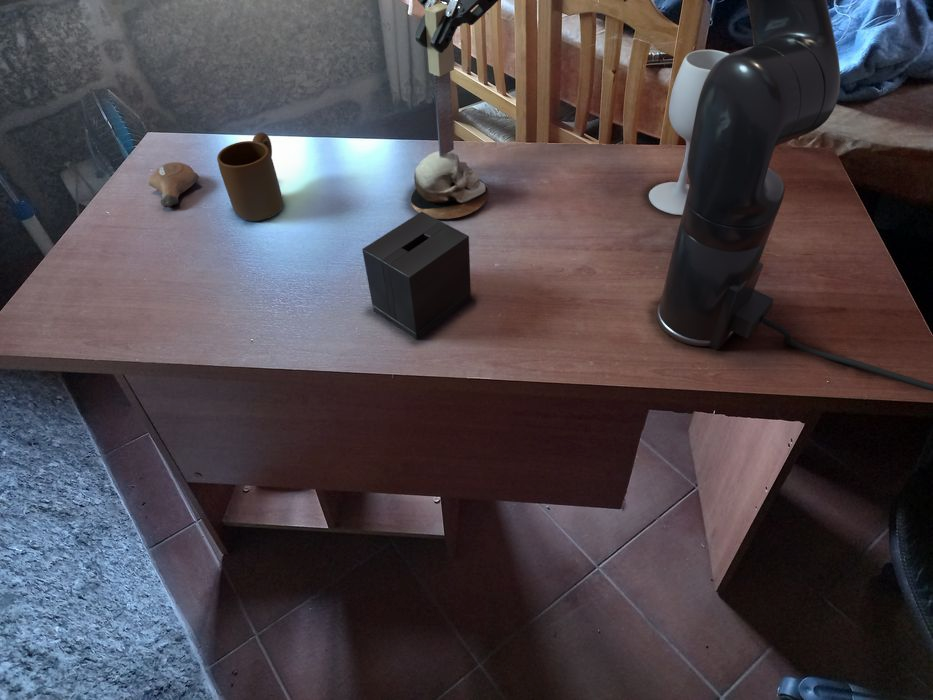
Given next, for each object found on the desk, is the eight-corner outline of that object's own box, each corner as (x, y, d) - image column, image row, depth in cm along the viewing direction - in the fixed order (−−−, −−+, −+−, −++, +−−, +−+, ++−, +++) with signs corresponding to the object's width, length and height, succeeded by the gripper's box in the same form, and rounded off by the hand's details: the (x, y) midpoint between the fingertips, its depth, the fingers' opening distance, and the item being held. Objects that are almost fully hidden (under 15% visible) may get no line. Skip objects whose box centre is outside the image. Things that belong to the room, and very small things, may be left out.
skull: (485, 165, 105) (489, 144, 95) (487, 229, 105) (491, 214, 95) (411, 166, 105) (407, 145, 95) (412, 230, 105) (408, 216, 95)
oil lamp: (139, 204, 104) (175, 217, 101) (127, 184, 101) (163, 197, 98) (179, 170, 109) (214, 183, 106) (168, 150, 105) (204, 162, 103)
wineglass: (690, 179, 103) (724, 42, 88) (718, 210, 97) (760, 68, 82) (639, 189, 101) (664, 51, 86) (664, 220, 96) (697, 78, 80)
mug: (255, 178, 107) (239, 124, 100) (300, 181, 106) (286, 126, 99) (226, 221, 99) (206, 165, 92) (274, 224, 98) (257, 168, 91)
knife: (458, 151, 96) (451, 5, 81) (445, 159, 94) (435, 12, 80) (448, 146, 97) (439, 2, 82) (435, 154, 95) (424, 8, 81)
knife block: (471, 298, 85) (469, 235, 78) (416, 339, 80) (409, 277, 73) (427, 272, 89) (421, 211, 82) (373, 310, 84) (361, 248, 77)
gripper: (434, -117, 80) (373, 18, 83) (522, -101, 74) (453, 45, 77) (465, -76, 87) (407, 47, 90) (548, -58, 80) (483, 75, 83)
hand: (428, 46), depth 83 cm, fingers closed on knife, 2 cm apart
